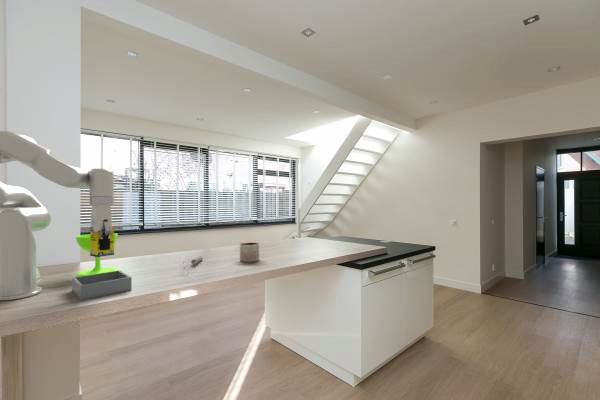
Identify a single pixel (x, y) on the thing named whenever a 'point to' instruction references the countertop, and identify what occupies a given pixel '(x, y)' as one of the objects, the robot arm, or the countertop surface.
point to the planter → (249, 252)
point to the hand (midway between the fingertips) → (102, 248)
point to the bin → (100, 284)
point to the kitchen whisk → (193, 262)
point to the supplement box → (94, 243)
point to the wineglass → (85, 244)
